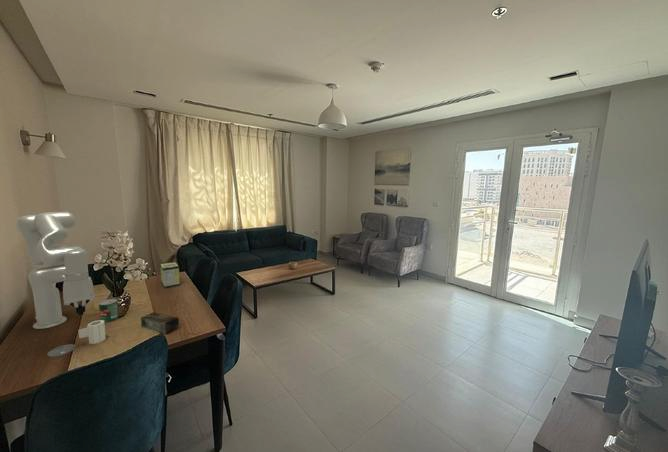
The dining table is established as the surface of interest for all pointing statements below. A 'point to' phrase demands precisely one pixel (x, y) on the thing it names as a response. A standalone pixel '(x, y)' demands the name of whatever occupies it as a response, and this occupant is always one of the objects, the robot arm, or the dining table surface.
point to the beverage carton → (160, 322)
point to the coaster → (61, 350)
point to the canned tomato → (108, 310)
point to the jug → (94, 332)
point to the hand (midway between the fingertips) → (81, 313)
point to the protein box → (170, 275)
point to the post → (100, 342)
